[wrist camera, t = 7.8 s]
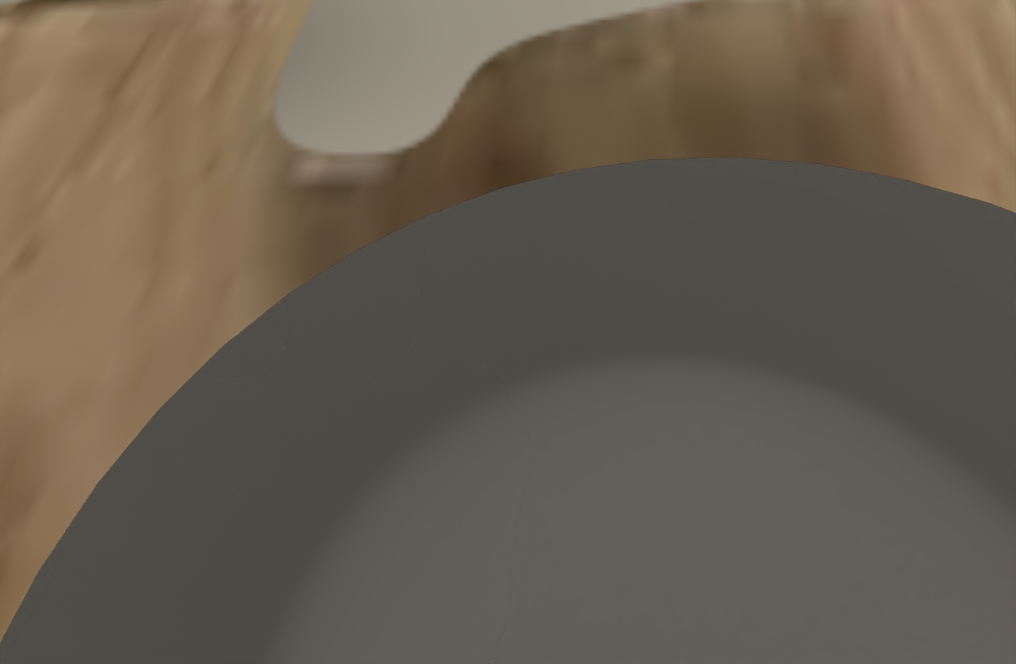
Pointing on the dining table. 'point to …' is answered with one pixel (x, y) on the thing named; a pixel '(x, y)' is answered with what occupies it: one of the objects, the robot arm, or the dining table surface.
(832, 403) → the grey shiny round cylinder
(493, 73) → the dining table surface
